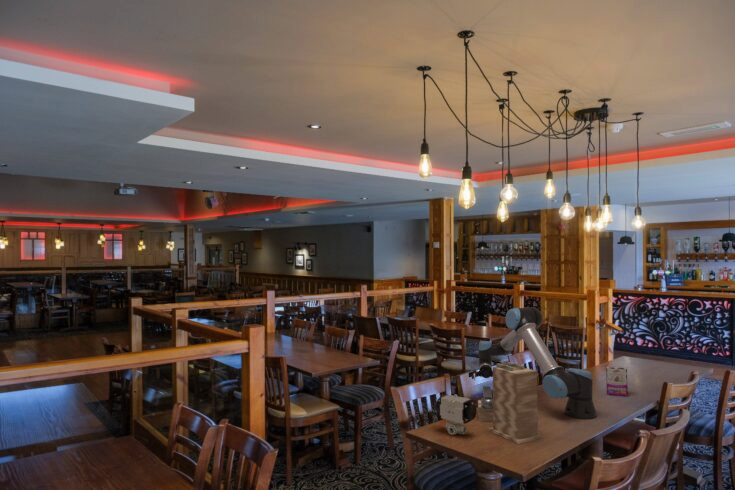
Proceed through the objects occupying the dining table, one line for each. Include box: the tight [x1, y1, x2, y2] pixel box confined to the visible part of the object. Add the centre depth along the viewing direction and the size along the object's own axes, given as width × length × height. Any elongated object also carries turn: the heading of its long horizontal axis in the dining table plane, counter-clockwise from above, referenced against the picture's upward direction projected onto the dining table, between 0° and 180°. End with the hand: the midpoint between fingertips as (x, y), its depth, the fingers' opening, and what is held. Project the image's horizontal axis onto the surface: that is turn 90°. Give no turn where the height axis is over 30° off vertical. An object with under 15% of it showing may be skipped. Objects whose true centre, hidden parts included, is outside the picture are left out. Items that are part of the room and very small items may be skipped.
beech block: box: [477, 399, 493, 423], centre depth 258 cm, size 14×10×6 cm
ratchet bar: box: [480, 385, 493, 409], centre depth 263 cm, size 28×7×4 cm, turn 168°
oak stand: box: [488, 361, 544, 445], centre depth 233 cm, size 19×15×32 cm
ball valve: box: [435, 393, 478, 436], centre depth 234 cm, size 18×8×18 cm, turn 50°
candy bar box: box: [605, 365, 629, 397], centre depth 297 cm, size 11×5×16 cm, turn 68°
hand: (487, 378), depth 280 cm, fingers open, 13 cm apart
